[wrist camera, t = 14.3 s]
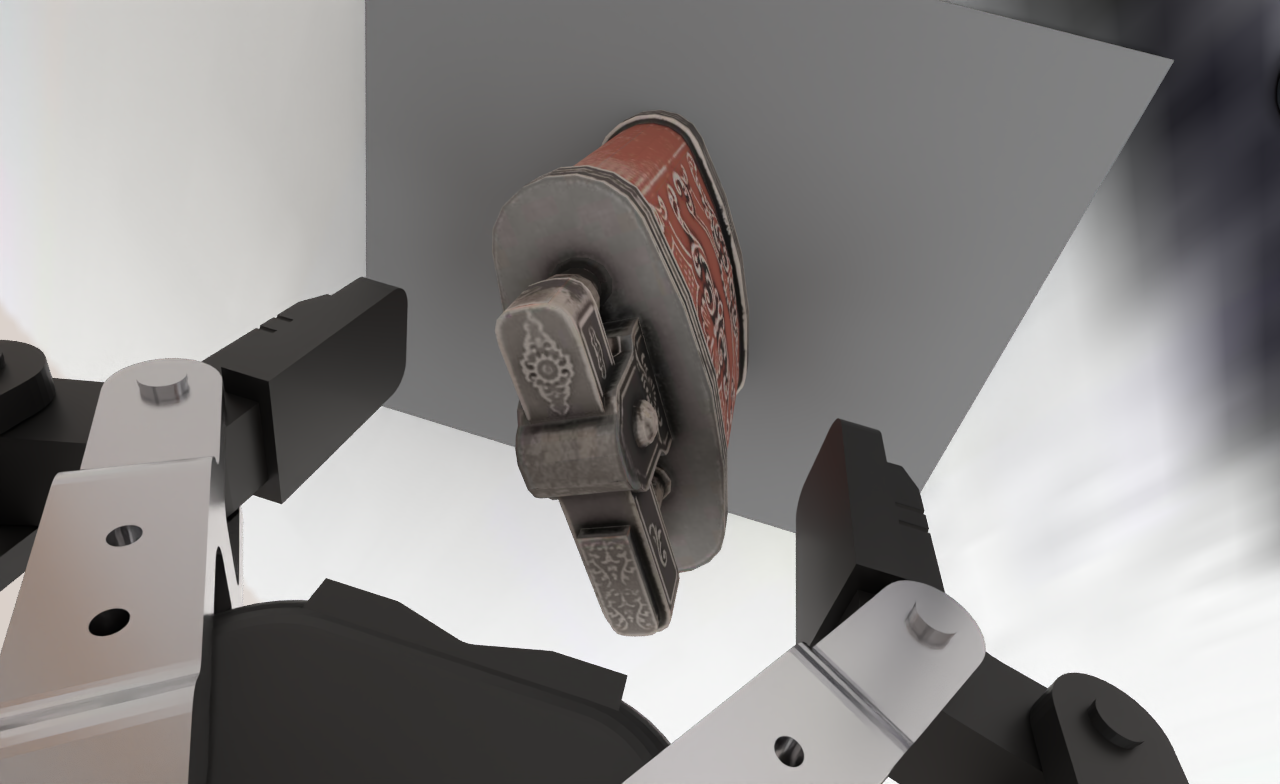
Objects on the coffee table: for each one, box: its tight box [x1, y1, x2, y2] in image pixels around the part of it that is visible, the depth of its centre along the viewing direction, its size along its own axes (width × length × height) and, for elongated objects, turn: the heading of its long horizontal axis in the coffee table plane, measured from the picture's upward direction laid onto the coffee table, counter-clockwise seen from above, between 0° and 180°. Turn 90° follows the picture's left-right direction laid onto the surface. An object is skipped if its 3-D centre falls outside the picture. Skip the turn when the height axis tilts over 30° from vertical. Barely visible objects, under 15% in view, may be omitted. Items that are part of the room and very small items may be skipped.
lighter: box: [492, 110, 749, 636], centre depth 14 cm, size 8×3×10 cm, turn 15°
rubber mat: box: [365, 0, 1174, 533], centre depth 18 cm, size 15×18×1 cm
